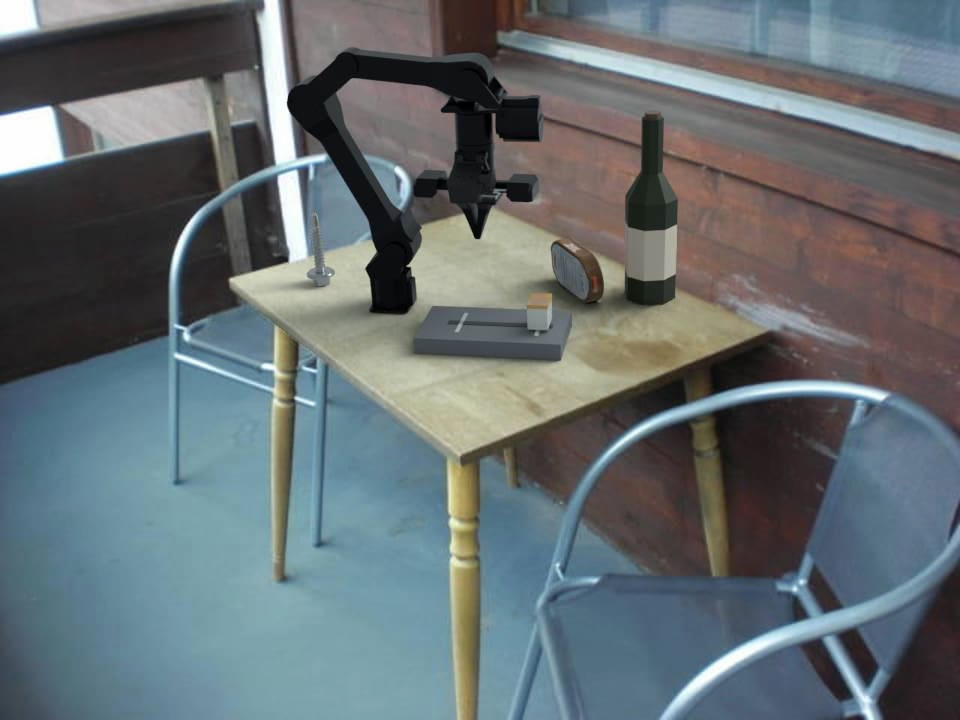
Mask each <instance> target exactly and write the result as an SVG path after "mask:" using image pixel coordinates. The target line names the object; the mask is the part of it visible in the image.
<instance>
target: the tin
mask: <svg viewBox="0 0 960 720" xmlns="http://www.w3.org/2000/svg"><path fill="white" fill-rule="evenodd" d="M550 252H551V253H550V256H551V266H552V271H553V273H554V277H555V278H556V280H557V282H558V283H559V284H560V286H561V287H563V288H564V290H566V291H567V292H568V293H570V294H571V295H572V296H573V297H575V298H576V299H577V300H578V301H580V302H581V303H583V304H588V303H591V302H597V301H600V300H601V299H602V298H603V296H604V292H605V281H604V275H603V270H602V268H601V264H600V262H599V261H598V259H597V257H596V255H594V253H593V252H591V250H589V249H588V248H586V247H585V246H583V245H582V244H581V243H580V242H578V241H577V240H575V239H574V238H573V237H571V236H566V237H564V238H561V239H557V240H554V241H553V242H552V244H551V246H550Z"/></svg>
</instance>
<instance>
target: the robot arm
mask: <svg viewBox="0 0 960 720" xmlns="http://www.w3.org/2000/svg"><path fill="white" fill-rule="evenodd" d="M352 79H359V80H367V81H368V80H369V81H375V82H377V81H378V82H384V83H385V82H386V83H395V84H403V85H413V86H420V87H421V86H422V87H427V88H430V89H434V90H437V91H438V92H439V93H442V94H444V95H447V96H449V98H448V101H446V102H445V103H444V104H443V105H442V107H441V108H440V113H442V114H453V115H454V134H455V135H454V136H455V139H454V140H455V151H454V152H453V153H454V156H453V159H454V161H453V165H452V168H451V170H450V173H449V176H448V173H447V171H446V170H440V169H439V170H438V169H437V170H436V169H424V170H423V171H422V172H421V173H420V174H419V175H418V176H417V177H416V178H415V179H414V180H413V183H412V184H413V185H412V190H413V191H412V193H413V196H414V197H415V198H425V199H427V198H428V199H432V198H433V197H435V196H436V195H437V194H438V192H439V191H447V193H448V199H449V202H450V204H452V205H453V204H454V205H456V206H457V207H459V208H460V209H461V211H462V213H463V214H464V216H465V219H466V221H467V224H468V225H469V228H470V231H471V233H472V235H473V238H474V240H480V239H482V237H483V234H484V230H485V227H486V224H487V222H488V217H489V215H490V212H491V209H492V207H493V206H495V205H497V204H498V203H499V202H500V200H501V198H502V197H503V195H504V194H506V195H505V197H506V198H507V199H508V200H509V201H510V202H512V203H526V204H527V203H532V202H534V200H535V198H536V197H537V195H538V194H539V192H540V180H539V177H538V176H537V175H536V174H533V173H513V174H512V175H511V176H510V177H509V179H507V180H506V179H504V180H503V179H497V178H496V168H495V149H496V146H495V144H496V143H495V142H494V129H495V135H497V136H498V139H502V142H504V143H506V142H507V143H542V141H543V137H544V136H543V135H544V122H545V121H544V120H545V119H544V116H545V115H544V113H543V108H542V104H541V95H540V94H530V95H525V96H524V95H523V96H521V95H520V96H519V95H513V96H512V95H508V94H509V93H508V91H507V89H505V87H504V86H503V85H502V83H501V82H500V80H498V78H497V76H496V75H495V72H494V65H493V64H492V62H491V61H490V60H489V58H488V57H487V56H486V55H485V54H482V53H479V52H467V53H454V54H446V55H442V56H432V57H431V56H425V55H423V56H422V55H414V54H407V53H406V54H405V53H396V52H386V51H378V50H377V51H376V50H368V49H361V48H359V47H355V46H350V47H347V48H345V49H344V50H342V51H341V52H340V53H339V54H337V55H336V57H335V59H334V60H333V61H332V62H330V64H328V65H327V66H326V67H325V68H324V69H323V70H322V71H320V73H318V74H315V75H309V76H308V77H305V78H304V79H302V81H300V82H299V83H297V85H295V86H294V87H292V88H291V89H290V90H289V93H288V94H287V101H286V108H287V109H288V112H289V114H290V115H291V116H292V117H293V119H294V120H295V121H296V122H297V124H298V125H299V126H300V127H301V128H302V129H303V131H305V132H307V134H309V135H311V136H312V137H313V138H314V139H316V140H317V141H318V142H319V143H320V144H321V145H322V147H323V149H324V150H325V151H326V154H327V156H328V157H329V158H330V160H331V163H332V164H333V165H334V166H335V168H336V170H337V172H338V174H339V175H340V177H341V179H342V180H343V182H344V183H345V186H347V188H348V190H349V192H350V193H351V195H352V197H353V198H354V200H355V201H356V203H357V205H358V206H359V208H360V209H361V211H362V213H363V214H364V216H365V218H366V220H367V222H368V225H369V232H370V236H371V241H372V244H373V246H374V248H375V250H376V252H375V254H374V255H373V256H372V258H371V259H370V260H369V262H368V264H367V265H366V266H365V268H364V270H365V272H366V274H367V277H368V278H369V283H370V284H369V285H370V293H371V294H370V296H371V305H370V307H369V308H368V310H369V312H370V313H387V314H388V313H389V314H391V313H392V314H408V313H409V311H410V310H411V309H412V307H413V306H414V305H415V303H416V302H417V299H418V296H417V285H416V284H417V283H416V277H415V276H414V275H413V273H412V271H413V270H412V266H408V265H410V264H411V262H412V261H413V259H414V258H415V257H416V254H417V253H418V251H419V250H420V248H421V245H422V241H423V235H422V233H421V230H422V228H423V227H422V225H420V224H419V222H417V221H416V219H415V217H414V214H413V212H412V210H411V208H410V207H409V206H408V207H406V208H404V209H403V210H401V209H399V208H398V207H396V206H395V204H393V203H392V201H391V199H390V197H389V196H388V195H387V193H386V192H385V190H384V188H383V187H382V185H381V183H380V181H379V179H378V178H377V177H376V175H375V173H374V171H373V170H372V168H371V166H370V165H369V163H368V161H367V159H366V158H365V156H364V155H363V153H362V151H361V150H360V148H359V146H358V145H357V143H356V141H355V140H354V138H353V136H352V134H351V133H350V131H349V130H348V128H347V125H346V123H345V117H344V113H343V108H342V104H341V102H340V99H339V96H338V95H337V93H338V92H339V90H341V89H342V88H343V87H344V86H345V85H346V84H347V83H348V82H350V81H351V80H352ZM493 114H495V115H493ZM493 116H495V118H494V117H493ZM494 125H495V127H494Z"/></svg>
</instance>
